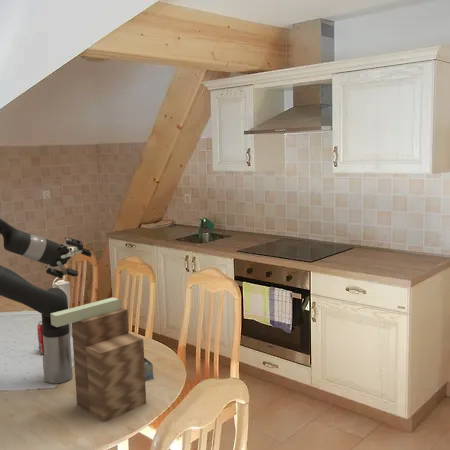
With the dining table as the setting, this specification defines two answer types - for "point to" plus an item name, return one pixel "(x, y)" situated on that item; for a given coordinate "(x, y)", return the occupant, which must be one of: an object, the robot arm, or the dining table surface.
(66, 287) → the white water bottle
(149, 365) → the beverage carton
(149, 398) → the dining table surface
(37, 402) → the dining table surface
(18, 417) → the dining table surface
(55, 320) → the sage bar
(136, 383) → the display stand
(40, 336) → the soda can
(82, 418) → the dining table surface
